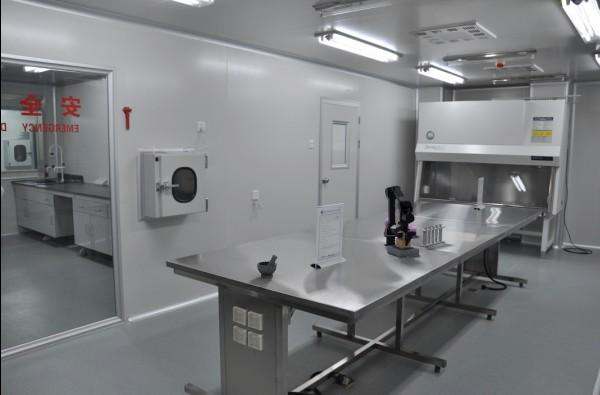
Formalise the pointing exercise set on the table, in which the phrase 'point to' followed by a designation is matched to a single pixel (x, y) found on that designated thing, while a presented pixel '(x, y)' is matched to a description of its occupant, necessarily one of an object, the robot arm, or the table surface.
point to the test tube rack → (432, 235)
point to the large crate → (402, 251)
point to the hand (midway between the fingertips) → (403, 245)
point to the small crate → (402, 243)
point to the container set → (408, 227)
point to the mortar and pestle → (267, 267)
